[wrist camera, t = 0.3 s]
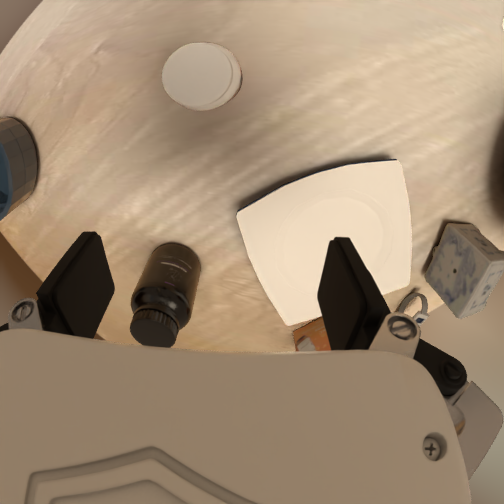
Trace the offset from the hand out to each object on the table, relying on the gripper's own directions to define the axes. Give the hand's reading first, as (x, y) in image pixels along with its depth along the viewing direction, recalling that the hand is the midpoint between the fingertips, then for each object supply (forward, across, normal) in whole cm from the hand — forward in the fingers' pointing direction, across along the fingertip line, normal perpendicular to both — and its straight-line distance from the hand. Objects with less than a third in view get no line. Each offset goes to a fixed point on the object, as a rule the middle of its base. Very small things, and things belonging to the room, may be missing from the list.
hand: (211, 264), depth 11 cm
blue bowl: (+20, +31, -1) cm, 37 cm away
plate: (+20, -13, +11) cm, 26 cm away
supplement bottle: (+20, +7, +15) cm, 26 cm away
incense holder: (+20, -33, +11) cm, 40 cm away
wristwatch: (+20, -28, +21) cm, 41 cm away
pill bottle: (+20, +2, -7) cm, 22 cm away
